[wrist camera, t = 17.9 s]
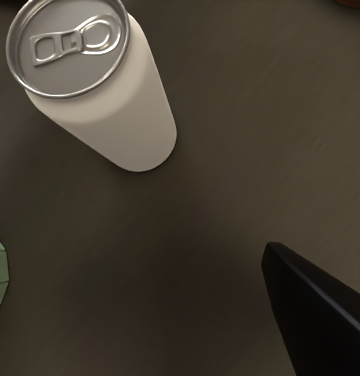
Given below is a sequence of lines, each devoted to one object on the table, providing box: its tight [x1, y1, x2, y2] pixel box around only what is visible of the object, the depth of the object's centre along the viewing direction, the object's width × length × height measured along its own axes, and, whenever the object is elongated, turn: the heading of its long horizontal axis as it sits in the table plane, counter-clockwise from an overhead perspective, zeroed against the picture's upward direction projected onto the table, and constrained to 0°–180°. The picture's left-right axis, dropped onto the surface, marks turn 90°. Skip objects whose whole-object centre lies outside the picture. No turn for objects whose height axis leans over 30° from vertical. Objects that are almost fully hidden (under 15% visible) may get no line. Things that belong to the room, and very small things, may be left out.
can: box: [6, 0, 177, 172], centre depth 17 cm, size 6×6×12 cm
